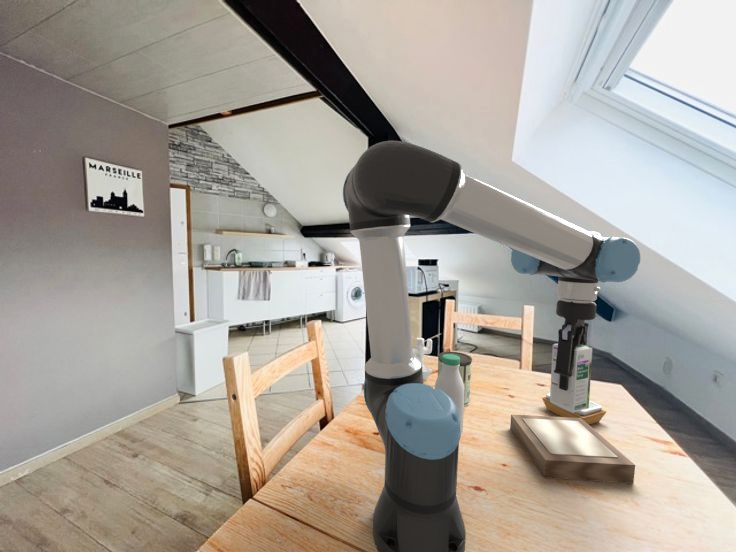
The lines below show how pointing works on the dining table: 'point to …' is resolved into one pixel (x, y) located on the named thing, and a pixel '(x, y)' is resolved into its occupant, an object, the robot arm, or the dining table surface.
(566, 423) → the pedestal
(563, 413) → the soap dish
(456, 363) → the milk bottle
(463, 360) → the coffee can
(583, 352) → the syrup box
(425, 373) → the figurine
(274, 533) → the dining table surface
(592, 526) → the dining table surface
